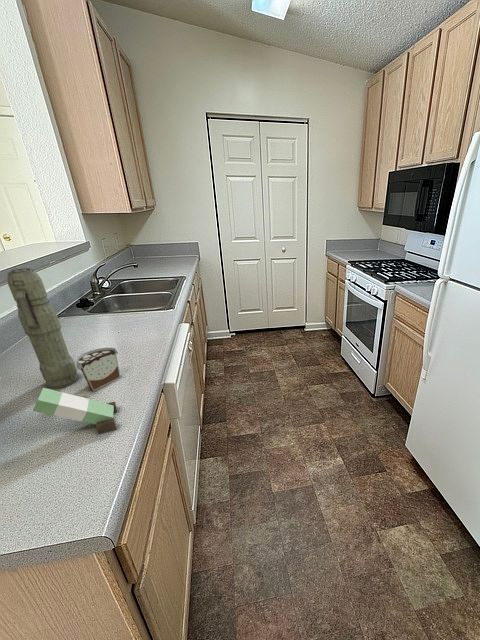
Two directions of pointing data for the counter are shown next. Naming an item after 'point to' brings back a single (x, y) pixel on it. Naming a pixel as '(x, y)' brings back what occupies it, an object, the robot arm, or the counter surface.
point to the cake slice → (99, 367)
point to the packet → (72, 407)
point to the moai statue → (42, 327)
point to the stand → (107, 422)
